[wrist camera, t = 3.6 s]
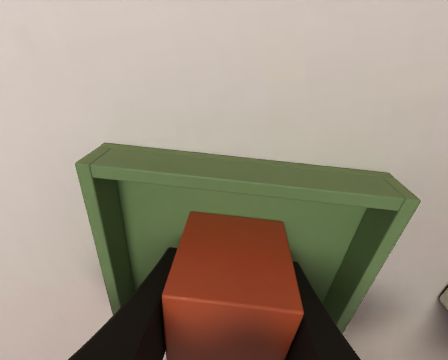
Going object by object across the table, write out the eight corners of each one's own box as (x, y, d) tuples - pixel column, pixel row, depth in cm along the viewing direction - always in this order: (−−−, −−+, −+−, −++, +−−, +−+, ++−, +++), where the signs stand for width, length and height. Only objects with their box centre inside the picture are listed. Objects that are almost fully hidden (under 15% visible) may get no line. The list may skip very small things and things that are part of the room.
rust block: (284, 220, 10) (305, 313, 6) (267, 283, 12) (277, 380, 8) (189, 209, 10) (160, 296, 7) (188, 273, 12) (165, 366, 8)
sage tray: (389, 172, 9) (422, 200, 7) (321, 313, 13) (332, 350, 12) (104, 142, 9) (73, 163, 8) (130, 290, 14) (114, 323, 12)
